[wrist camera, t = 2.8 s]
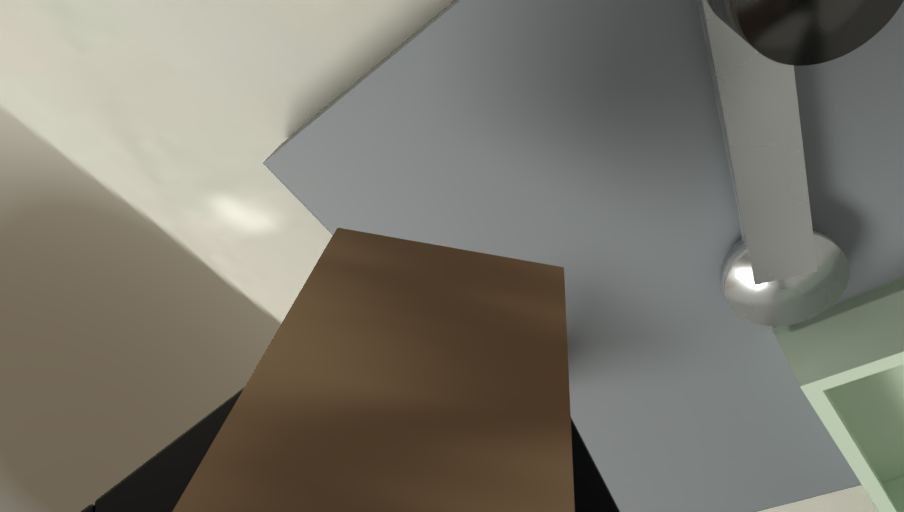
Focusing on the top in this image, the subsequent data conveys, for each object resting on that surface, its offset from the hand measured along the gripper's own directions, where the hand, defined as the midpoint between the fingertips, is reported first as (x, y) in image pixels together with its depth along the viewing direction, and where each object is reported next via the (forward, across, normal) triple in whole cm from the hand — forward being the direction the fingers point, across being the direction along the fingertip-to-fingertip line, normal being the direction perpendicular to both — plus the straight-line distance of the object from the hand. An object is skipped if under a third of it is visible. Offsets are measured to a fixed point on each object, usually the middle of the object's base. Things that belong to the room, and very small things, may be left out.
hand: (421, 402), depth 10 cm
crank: (+7, -6, -3) cm, 10 cm away
